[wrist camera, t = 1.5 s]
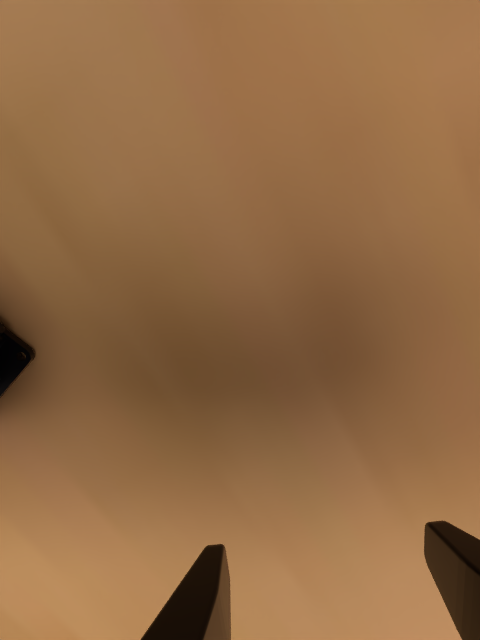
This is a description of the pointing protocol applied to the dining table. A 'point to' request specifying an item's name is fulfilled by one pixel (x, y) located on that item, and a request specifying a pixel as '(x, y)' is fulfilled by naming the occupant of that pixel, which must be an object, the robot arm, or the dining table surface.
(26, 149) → the dining table surface
